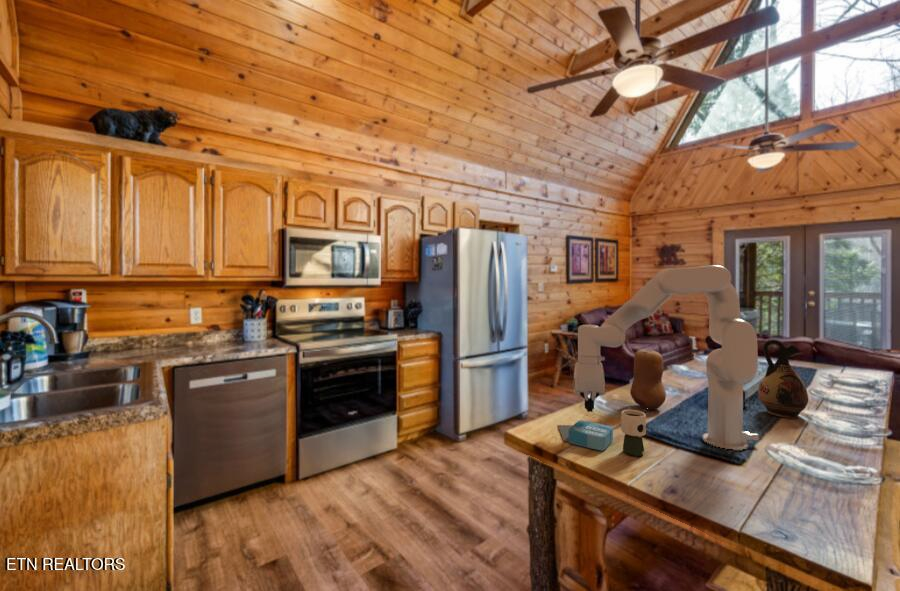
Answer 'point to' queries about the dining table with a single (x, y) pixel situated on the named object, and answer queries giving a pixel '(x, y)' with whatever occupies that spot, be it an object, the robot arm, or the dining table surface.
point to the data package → (591, 435)
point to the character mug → (633, 431)
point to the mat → (565, 431)
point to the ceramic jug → (782, 383)
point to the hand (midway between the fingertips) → (589, 410)
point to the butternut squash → (648, 379)
